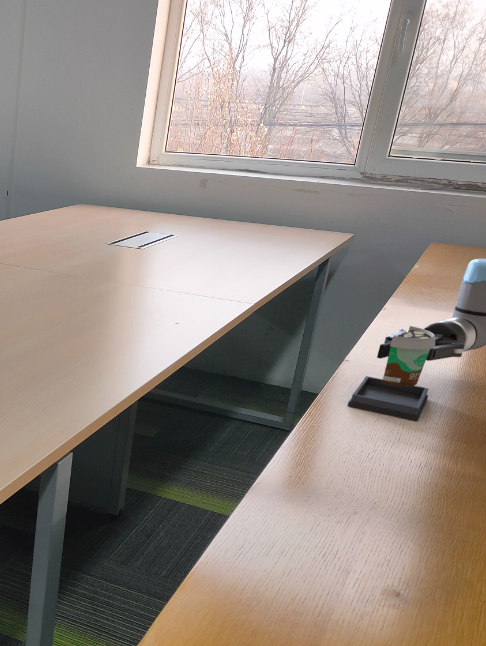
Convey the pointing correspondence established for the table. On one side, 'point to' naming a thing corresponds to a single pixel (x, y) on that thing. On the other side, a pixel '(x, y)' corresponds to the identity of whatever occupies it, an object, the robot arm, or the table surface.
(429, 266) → the table surface
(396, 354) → the food container
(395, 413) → the pad
